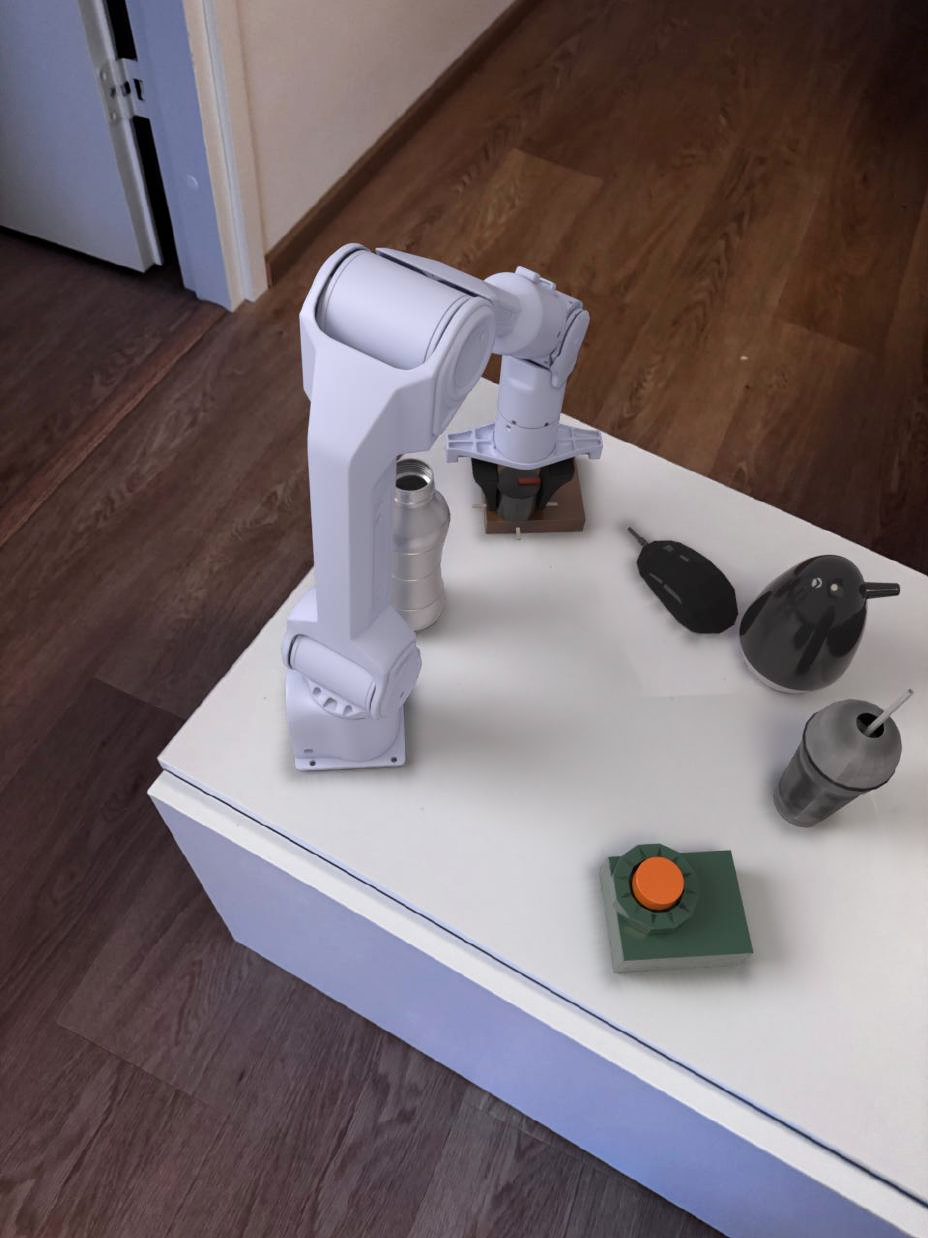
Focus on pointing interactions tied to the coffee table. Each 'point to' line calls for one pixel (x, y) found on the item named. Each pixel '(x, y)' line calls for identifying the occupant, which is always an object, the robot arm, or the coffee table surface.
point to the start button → (657, 883)
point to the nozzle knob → (517, 494)
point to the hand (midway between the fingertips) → (515, 502)
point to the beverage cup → (839, 760)
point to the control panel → (543, 512)
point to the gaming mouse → (688, 585)
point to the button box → (676, 914)
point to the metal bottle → (418, 544)
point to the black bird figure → (808, 624)
